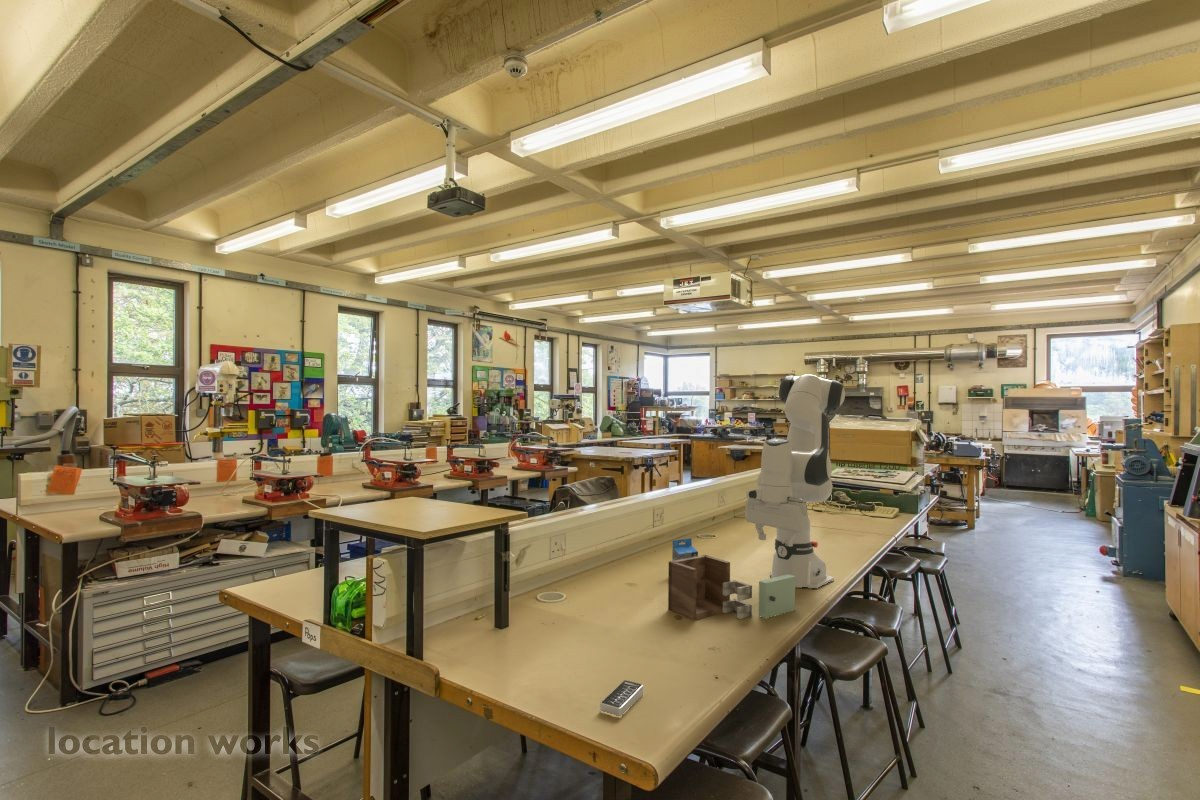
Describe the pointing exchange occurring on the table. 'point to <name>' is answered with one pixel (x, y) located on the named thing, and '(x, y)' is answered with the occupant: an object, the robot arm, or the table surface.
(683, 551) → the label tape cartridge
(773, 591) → the door
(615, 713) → the multiport hub
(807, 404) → the robot arm
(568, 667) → the table surface
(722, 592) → the cabinet
